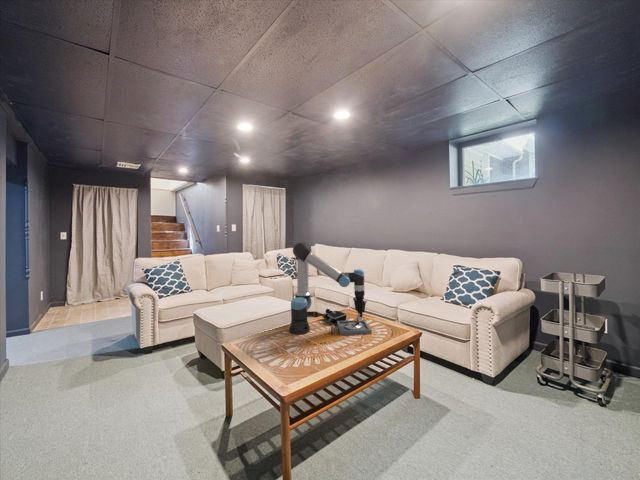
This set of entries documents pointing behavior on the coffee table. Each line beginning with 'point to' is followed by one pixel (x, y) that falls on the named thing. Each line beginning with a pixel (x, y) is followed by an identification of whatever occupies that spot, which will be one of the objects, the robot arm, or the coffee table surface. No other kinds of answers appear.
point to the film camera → (334, 316)
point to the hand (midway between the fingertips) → (360, 320)
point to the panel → (345, 331)
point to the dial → (353, 325)
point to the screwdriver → (334, 330)
